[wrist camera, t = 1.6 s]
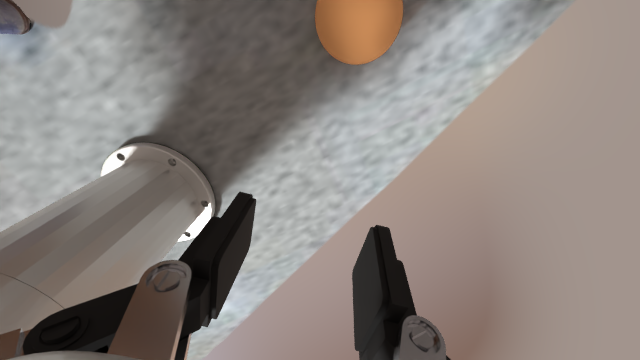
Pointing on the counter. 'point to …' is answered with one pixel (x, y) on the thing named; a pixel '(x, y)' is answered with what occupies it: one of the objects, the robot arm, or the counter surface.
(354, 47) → the ball
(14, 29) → the flask
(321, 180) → the counter surface
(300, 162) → the counter surface
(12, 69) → the counter surface
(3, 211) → the counter surface
